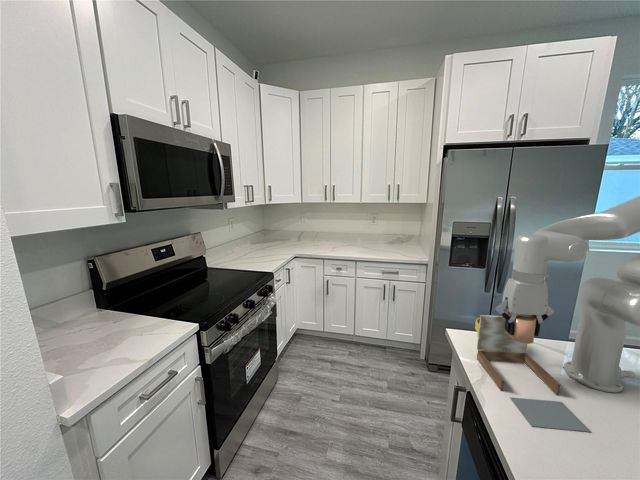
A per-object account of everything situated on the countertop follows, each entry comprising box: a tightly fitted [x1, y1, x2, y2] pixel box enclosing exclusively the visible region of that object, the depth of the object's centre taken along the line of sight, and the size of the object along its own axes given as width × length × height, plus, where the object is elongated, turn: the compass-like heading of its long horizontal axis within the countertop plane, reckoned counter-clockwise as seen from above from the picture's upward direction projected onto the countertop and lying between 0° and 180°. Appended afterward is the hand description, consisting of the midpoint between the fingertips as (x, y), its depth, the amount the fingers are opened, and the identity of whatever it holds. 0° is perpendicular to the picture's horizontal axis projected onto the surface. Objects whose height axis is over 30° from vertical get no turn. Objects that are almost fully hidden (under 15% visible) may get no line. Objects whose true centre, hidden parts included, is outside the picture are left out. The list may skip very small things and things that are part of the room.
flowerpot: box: [509, 315, 536, 345], centre depth 77 cm, size 6×6×7 cm
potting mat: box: [509, 396, 592, 433], centre depth 66 cm, size 13×9×1 cm
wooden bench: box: [476, 314, 562, 396], centre depth 79 cm, size 15×15×16 cm
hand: (521, 332), depth 77 cm, fingers closed on flowerpot, 6 cm apart
